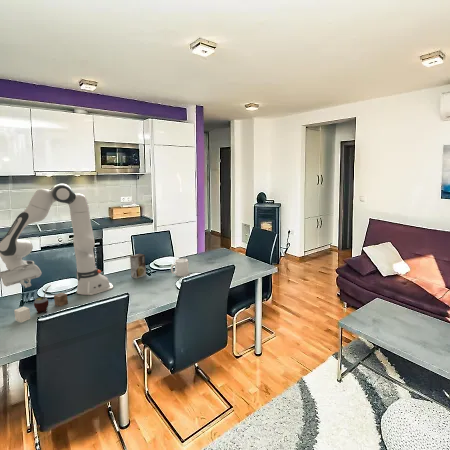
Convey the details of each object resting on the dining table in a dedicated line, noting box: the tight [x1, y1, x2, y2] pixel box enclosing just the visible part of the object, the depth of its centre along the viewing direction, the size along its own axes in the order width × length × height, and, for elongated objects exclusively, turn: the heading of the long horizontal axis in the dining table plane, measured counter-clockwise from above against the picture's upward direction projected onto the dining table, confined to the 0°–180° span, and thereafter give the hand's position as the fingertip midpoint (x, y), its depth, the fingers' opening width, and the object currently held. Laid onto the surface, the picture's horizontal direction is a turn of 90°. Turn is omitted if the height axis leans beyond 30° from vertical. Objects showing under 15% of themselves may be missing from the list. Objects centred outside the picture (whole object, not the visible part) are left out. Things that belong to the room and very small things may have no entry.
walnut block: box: [53, 292, 69, 307], centre depth 189 cm, size 5×5×6 cm
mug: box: [170, 258, 190, 277], centre depth 238 cm, size 14×10×11 cm
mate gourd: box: [33, 284, 51, 315], centre depth 178 cm, size 8×8×15 cm
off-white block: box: [14, 306, 31, 323], centre depth 170 cm, size 5×5×6 cm
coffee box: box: [129, 253, 147, 279], centre depth 235 cm, size 9×6×16 cm
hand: (28, 286), depth 183 cm, fingers closed
